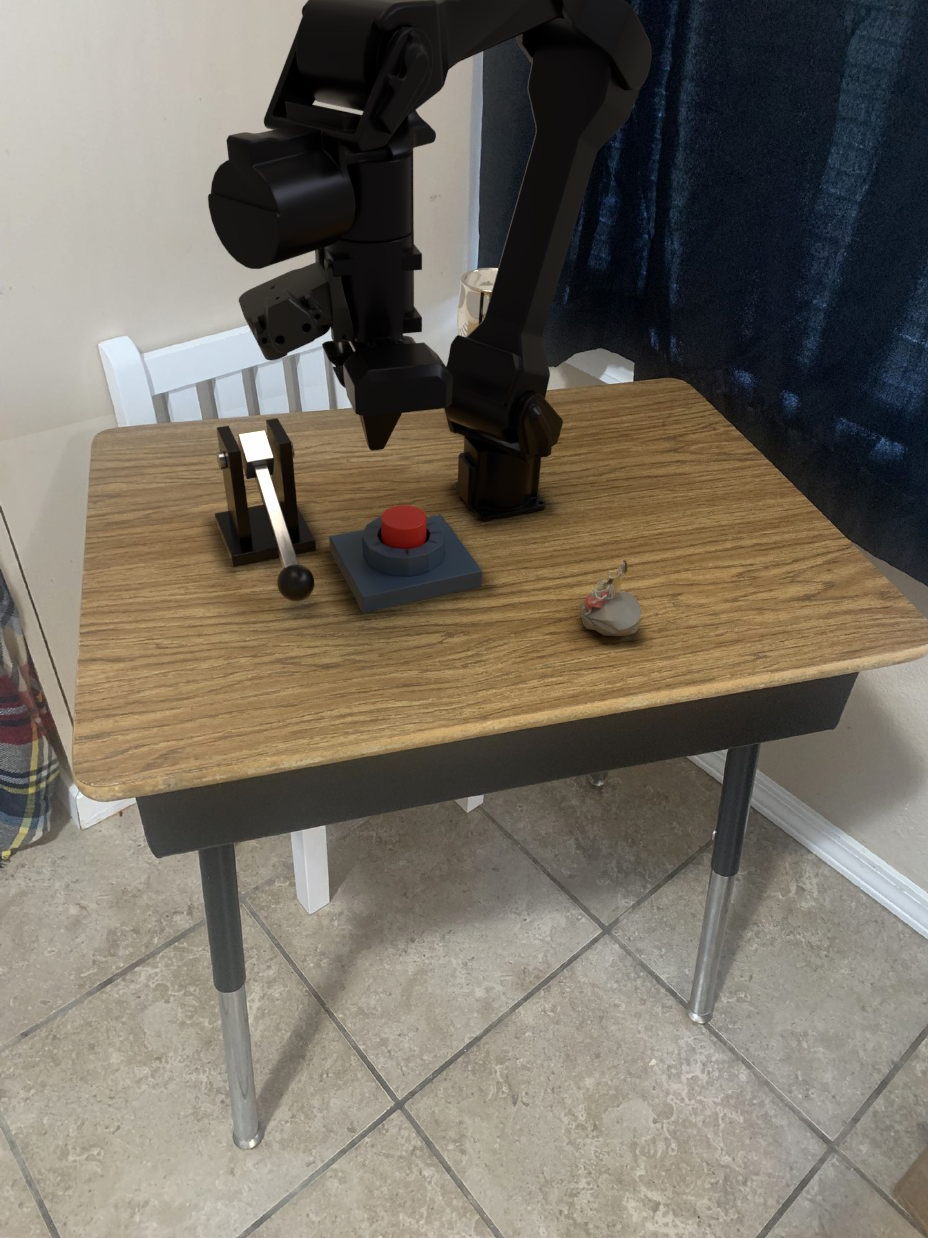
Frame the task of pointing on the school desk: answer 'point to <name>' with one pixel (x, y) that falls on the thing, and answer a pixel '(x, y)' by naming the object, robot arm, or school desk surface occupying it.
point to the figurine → (611, 607)
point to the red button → (403, 527)
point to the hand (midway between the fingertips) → (375, 447)
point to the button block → (403, 566)
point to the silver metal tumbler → (474, 298)
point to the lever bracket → (249, 525)
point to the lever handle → (274, 514)
